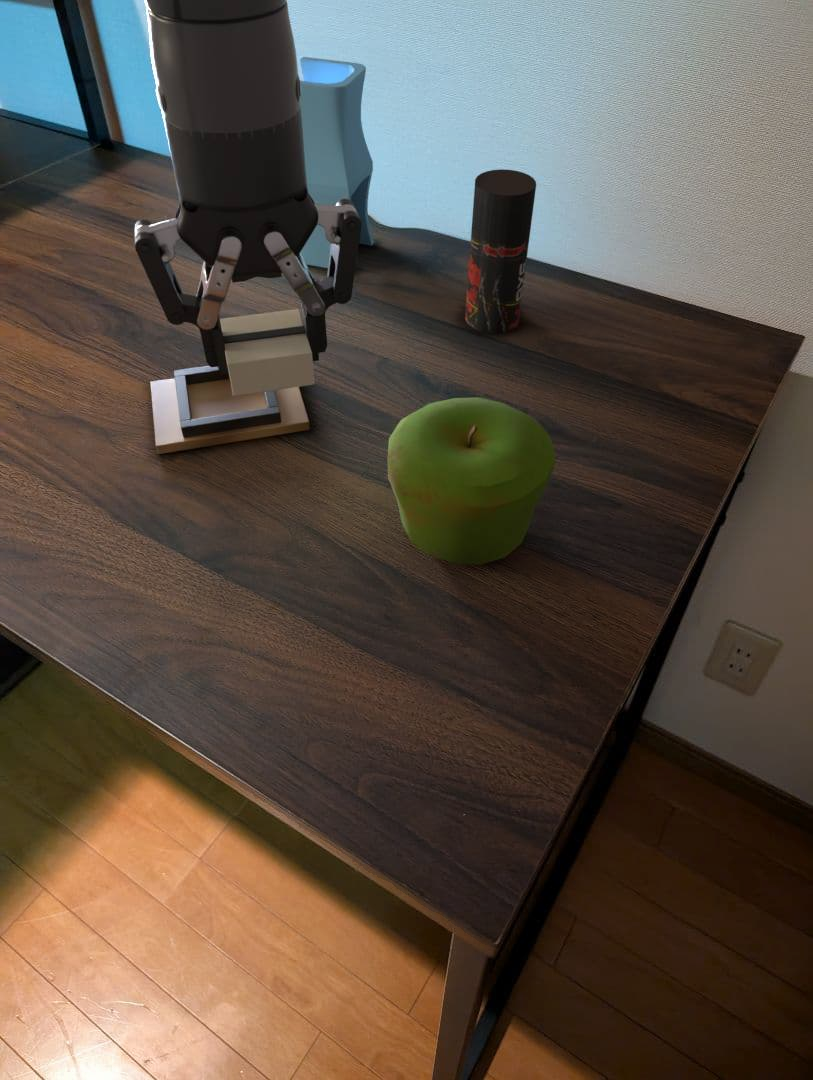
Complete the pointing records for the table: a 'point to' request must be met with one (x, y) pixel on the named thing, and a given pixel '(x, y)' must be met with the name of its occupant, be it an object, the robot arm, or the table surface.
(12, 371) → the table surface
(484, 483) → the apple
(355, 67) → the vase
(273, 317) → the ivory pad
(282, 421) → the base pad
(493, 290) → the deodorant
